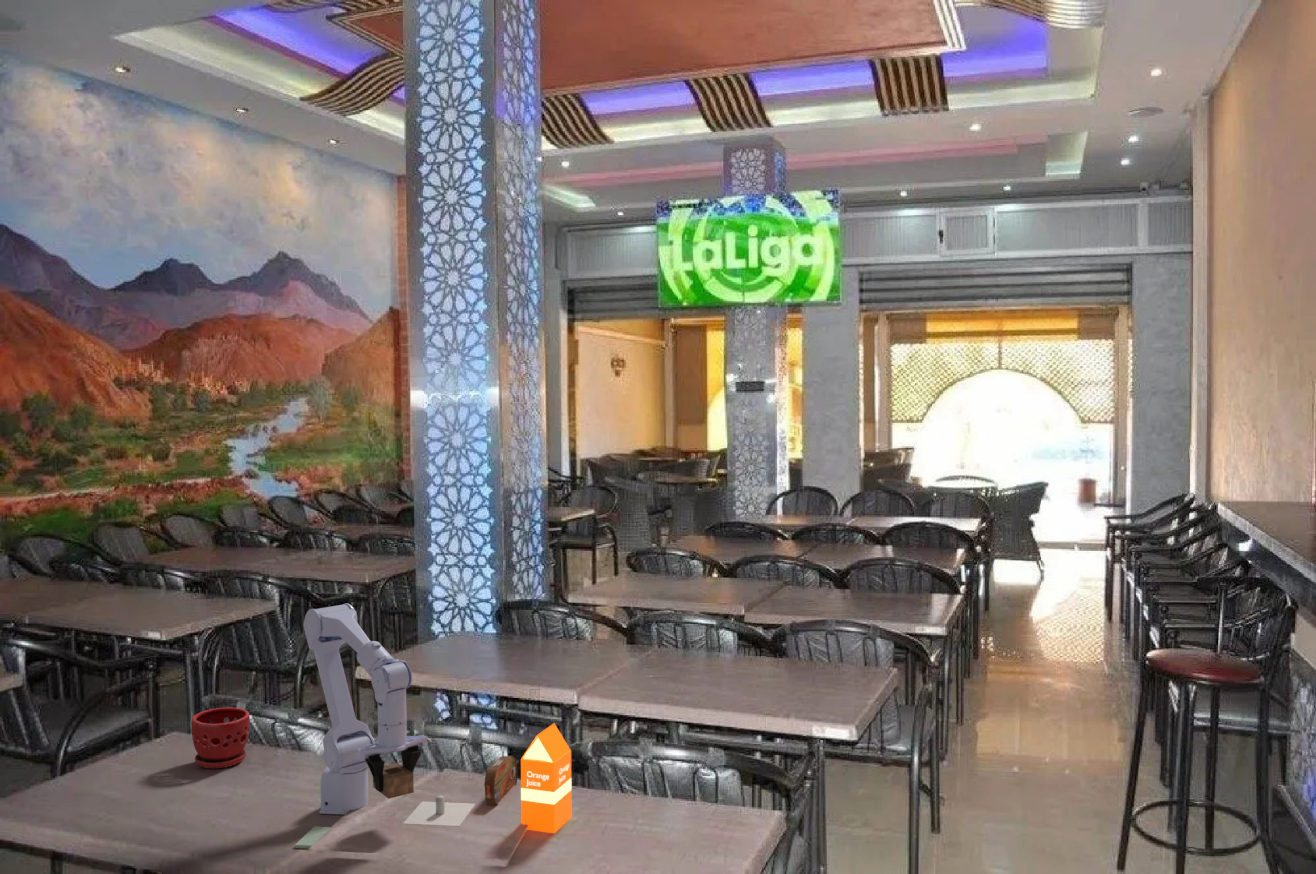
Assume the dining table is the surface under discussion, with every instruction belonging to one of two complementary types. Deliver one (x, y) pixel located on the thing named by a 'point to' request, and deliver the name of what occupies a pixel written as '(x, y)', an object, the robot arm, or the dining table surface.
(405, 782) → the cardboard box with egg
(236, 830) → the dining table surface
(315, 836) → the mat
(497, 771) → the tin
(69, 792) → the dining table surface
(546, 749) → the orange juice
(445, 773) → the dining table surface
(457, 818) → the stand
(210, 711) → the plant pot
